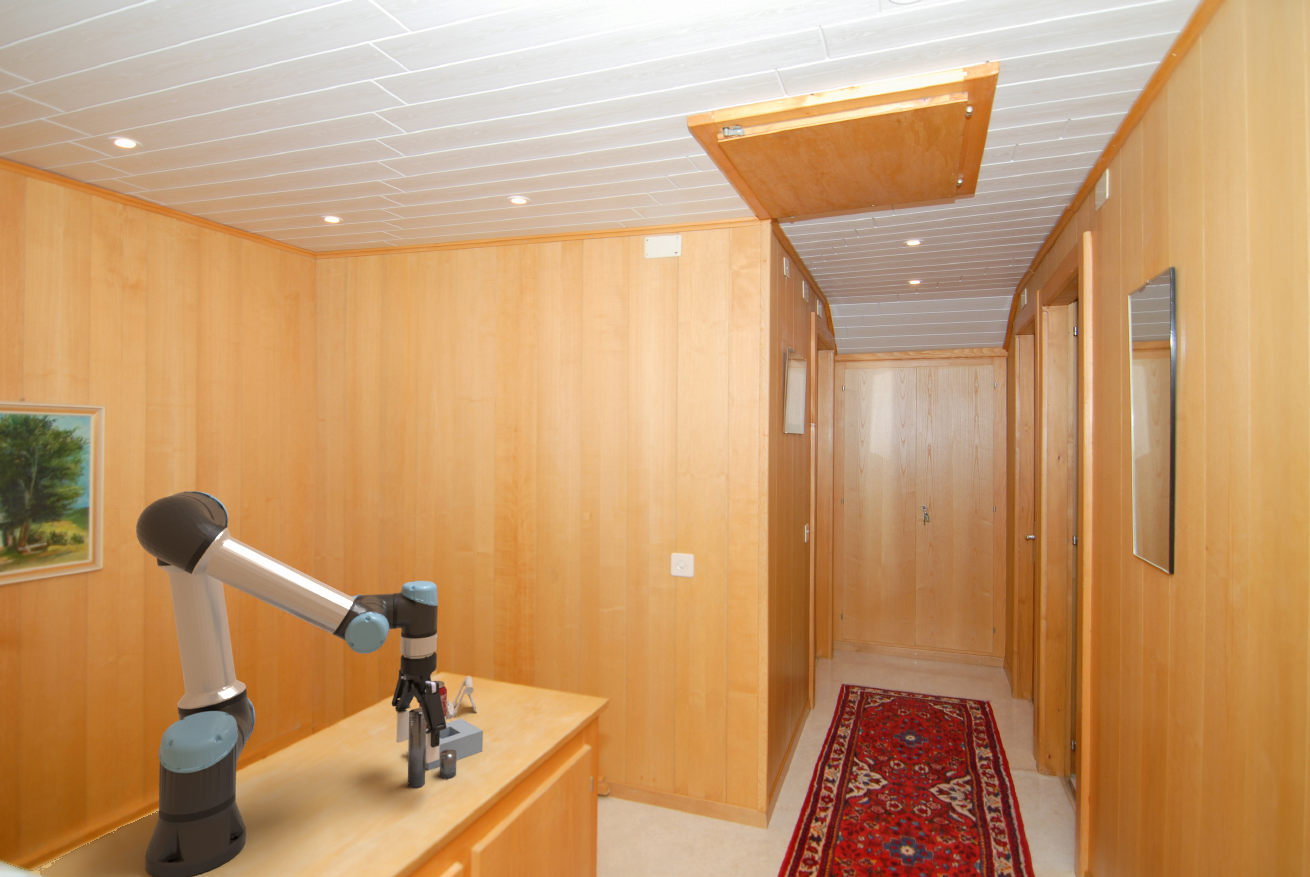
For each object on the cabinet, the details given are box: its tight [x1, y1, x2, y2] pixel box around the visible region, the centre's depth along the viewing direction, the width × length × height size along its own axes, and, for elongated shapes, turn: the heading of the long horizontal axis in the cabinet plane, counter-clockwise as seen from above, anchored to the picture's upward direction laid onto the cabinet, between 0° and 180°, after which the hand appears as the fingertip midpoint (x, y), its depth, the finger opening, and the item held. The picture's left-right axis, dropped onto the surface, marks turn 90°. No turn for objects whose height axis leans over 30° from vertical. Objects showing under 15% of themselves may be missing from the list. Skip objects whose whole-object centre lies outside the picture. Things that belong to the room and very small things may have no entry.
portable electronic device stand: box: [446, 675, 478, 719], centre depth 191 cm, size 9×8×8 cm
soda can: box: [418, 680, 448, 729], centre depth 178 cm, size 7×7×12 cm
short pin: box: [438, 749, 457, 780], centre depth 155 cm, size 4×4×5 cm
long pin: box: [407, 707, 426, 789], centre depth 150 cm, size 4×4×16 cm
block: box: [425, 718, 484, 771], centre depth 165 cm, size 14×10×5 cm
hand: (417, 750), depth 150 cm, fingers open, 13 cm apart
